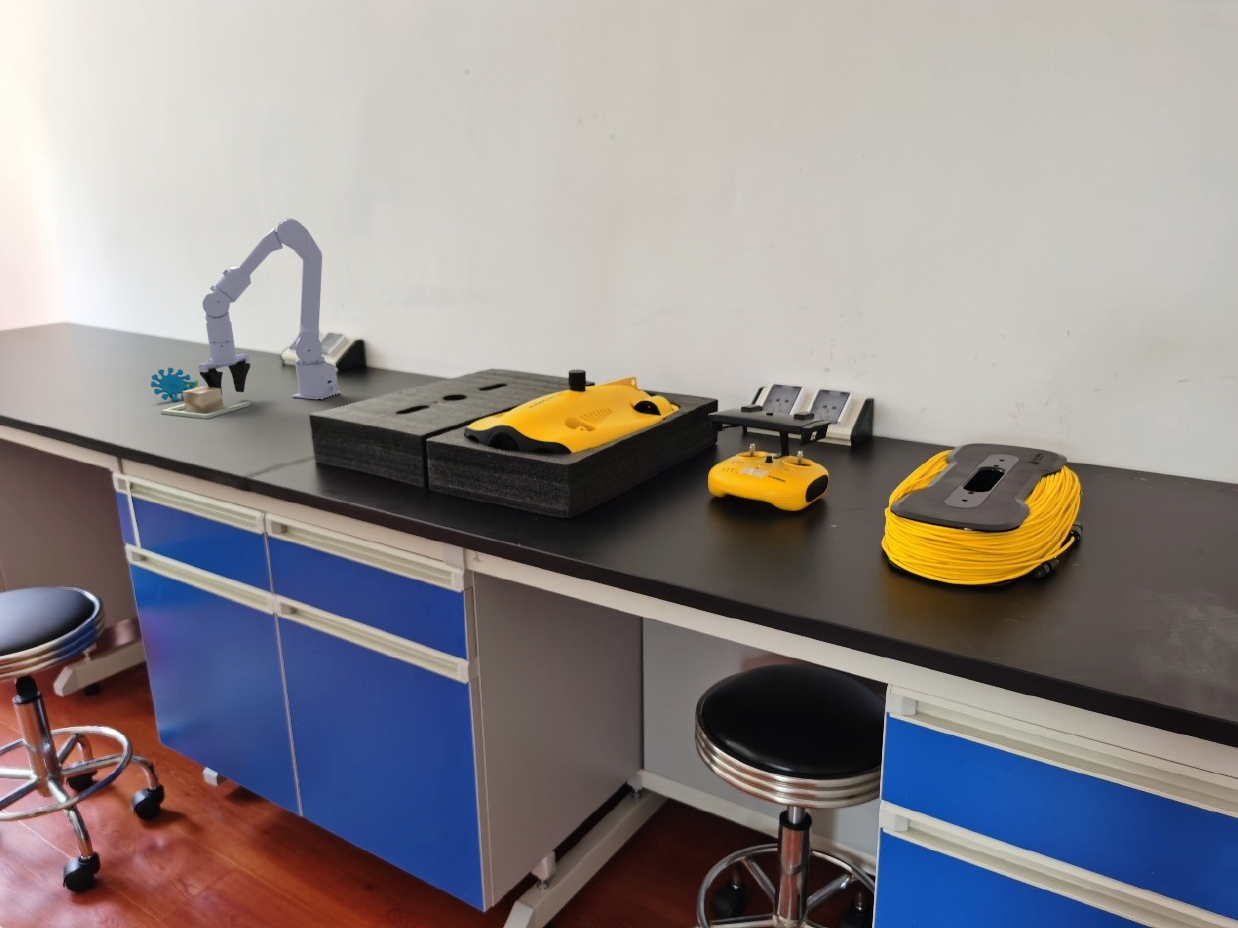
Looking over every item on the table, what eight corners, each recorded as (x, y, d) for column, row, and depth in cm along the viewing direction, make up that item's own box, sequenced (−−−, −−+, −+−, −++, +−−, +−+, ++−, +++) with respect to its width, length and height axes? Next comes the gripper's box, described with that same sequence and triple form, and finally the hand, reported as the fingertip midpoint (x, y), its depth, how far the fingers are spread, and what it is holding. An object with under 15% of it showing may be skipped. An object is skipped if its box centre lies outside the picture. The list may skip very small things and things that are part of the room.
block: (223, 408, 222) (220, 388, 221) (203, 413, 217) (200, 393, 216) (206, 405, 225) (203, 386, 223) (185, 411, 220) (182, 391, 218)
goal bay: (250, 405, 225) (250, 402, 225) (206, 418, 213) (206, 415, 212) (206, 400, 230) (206, 397, 230) (161, 413, 218) (160, 410, 217)
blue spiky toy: (153, 398, 226) (149, 365, 230) (151, 411, 230) (147, 379, 234) (201, 398, 232) (196, 366, 236) (198, 411, 236) (193, 379, 241)
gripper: (230, 335, 231) (238, 387, 235) (185, 345, 218) (194, 400, 223) (252, 337, 229) (259, 389, 233) (208, 346, 216) (216, 402, 220)
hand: (229, 395), depth 228 cm, fingers open, 7 cm apart
